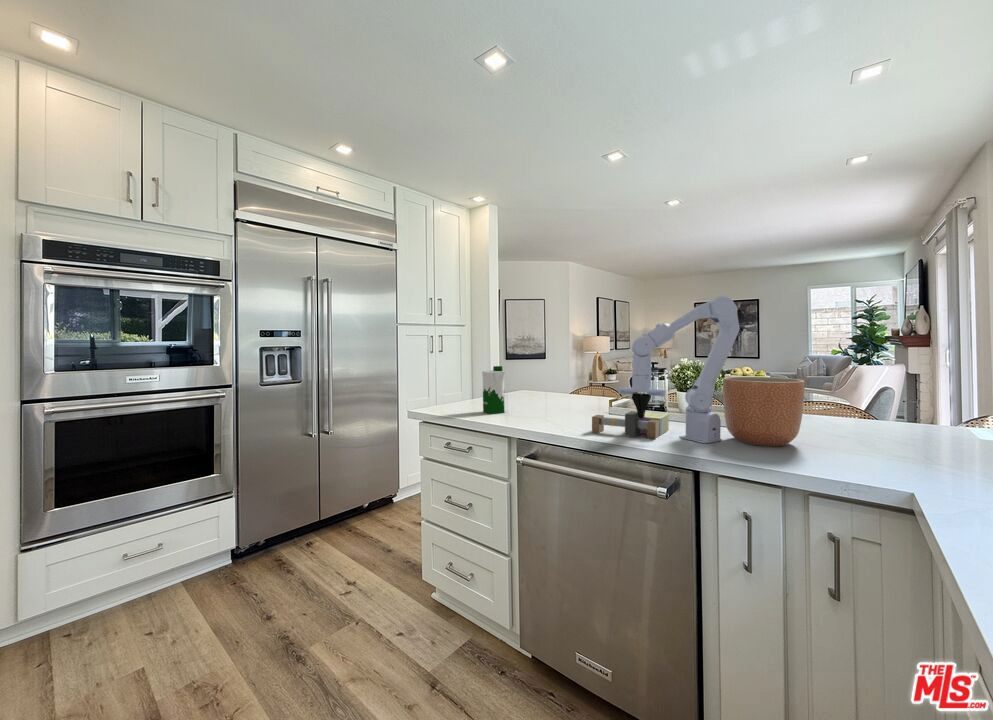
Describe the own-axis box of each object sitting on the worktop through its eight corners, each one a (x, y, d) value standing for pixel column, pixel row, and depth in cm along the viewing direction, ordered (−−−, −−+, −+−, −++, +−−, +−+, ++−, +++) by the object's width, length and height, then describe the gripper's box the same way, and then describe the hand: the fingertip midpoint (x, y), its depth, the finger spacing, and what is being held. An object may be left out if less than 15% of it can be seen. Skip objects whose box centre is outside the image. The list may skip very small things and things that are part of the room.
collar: (640, 433, 143) (640, 411, 143) (634, 436, 137) (634, 414, 137) (630, 432, 145) (630, 411, 144) (624, 435, 139) (625, 414, 139)
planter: (706, 437, 137) (707, 377, 136) (754, 432, 144) (755, 375, 143) (768, 453, 117) (770, 383, 117) (820, 446, 125) (822, 380, 124)
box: (638, 427, 155) (628, 432, 146) (638, 411, 155) (628, 415, 145) (668, 430, 149) (660, 436, 140) (669, 413, 149) (660, 418, 140)
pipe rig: (658, 436, 139) (658, 420, 139) (655, 439, 135) (655, 422, 135) (596, 430, 150) (597, 414, 150) (591, 432, 146) (592, 416, 145)
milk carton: (507, 413, 187) (507, 366, 187) (488, 414, 184) (487, 367, 183) (498, 410, 195) (498, 365, 195) (480, 411, 192) (479, 366, 191)
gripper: (668, 375, 138) (667, 417, 139) (622, 373, 146) (622, 413, 146) (663, 376, 132) (663, 421, 133) (616, 375, 140) (615, 416, 141)
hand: (641, 417), depth 139 cm, fingers closed
